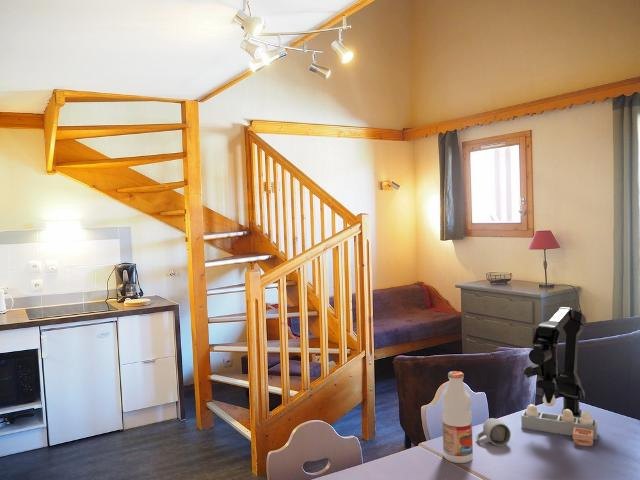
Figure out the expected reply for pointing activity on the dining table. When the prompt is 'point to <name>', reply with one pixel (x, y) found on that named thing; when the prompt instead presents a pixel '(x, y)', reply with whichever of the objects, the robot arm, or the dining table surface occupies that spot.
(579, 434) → the egg cup
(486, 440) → the ceramic mug
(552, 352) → the robot arm
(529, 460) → the dining table surface
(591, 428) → the egg carton
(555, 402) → the egg
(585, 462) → the dining table surface
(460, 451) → the fruit juice
